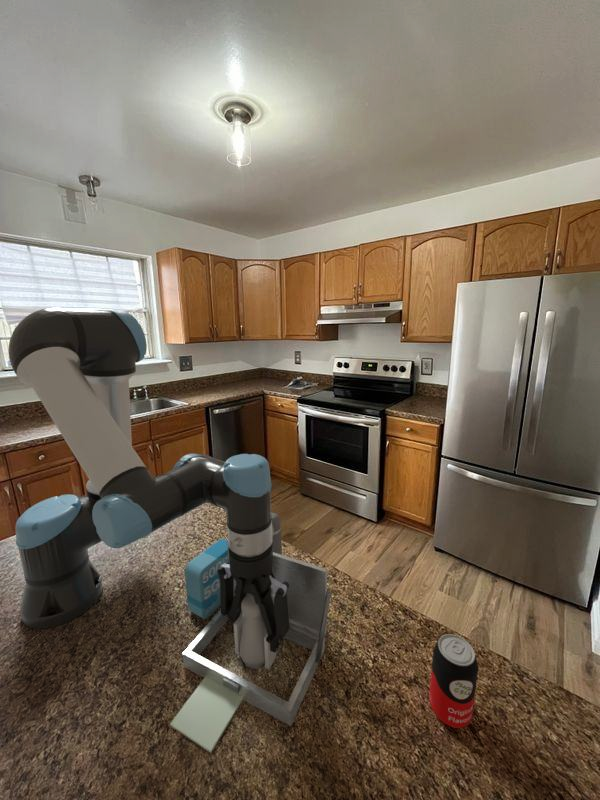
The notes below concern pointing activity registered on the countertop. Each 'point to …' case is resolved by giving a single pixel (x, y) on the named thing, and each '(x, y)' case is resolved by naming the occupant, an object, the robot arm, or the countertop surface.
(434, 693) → the beverage can
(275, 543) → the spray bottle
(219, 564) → the data package
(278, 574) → the case
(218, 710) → the pad
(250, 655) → the salt shaker
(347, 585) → the countertop surface
